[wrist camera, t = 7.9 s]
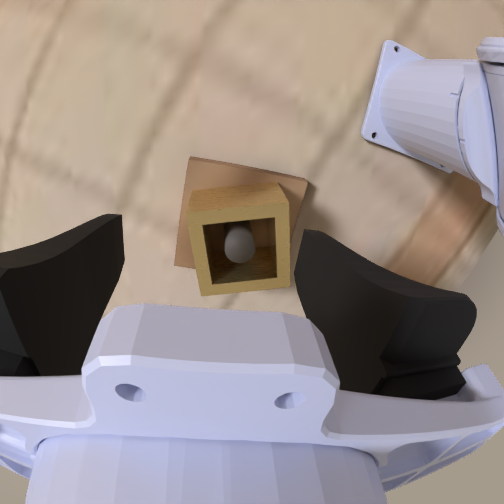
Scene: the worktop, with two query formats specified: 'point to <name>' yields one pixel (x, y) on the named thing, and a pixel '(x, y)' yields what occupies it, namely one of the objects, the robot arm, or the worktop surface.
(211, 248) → the collar
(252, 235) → the shaft block
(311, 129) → the worktop surface
